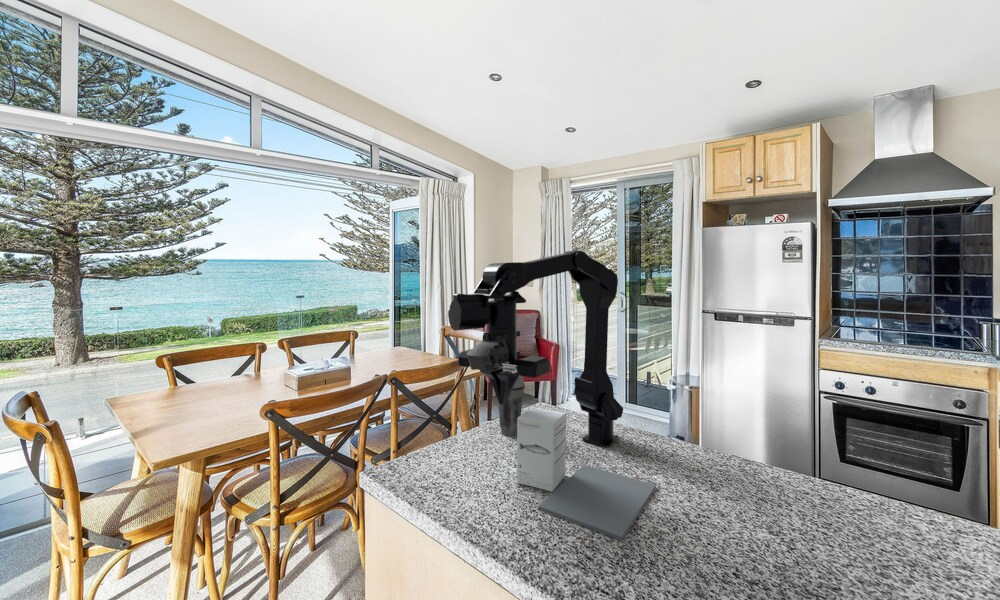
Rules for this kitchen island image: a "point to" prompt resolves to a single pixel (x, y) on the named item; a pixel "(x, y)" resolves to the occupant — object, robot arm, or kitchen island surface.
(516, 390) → the beverage cup
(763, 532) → the kitchen island surface
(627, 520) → the mat
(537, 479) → the supplement box
